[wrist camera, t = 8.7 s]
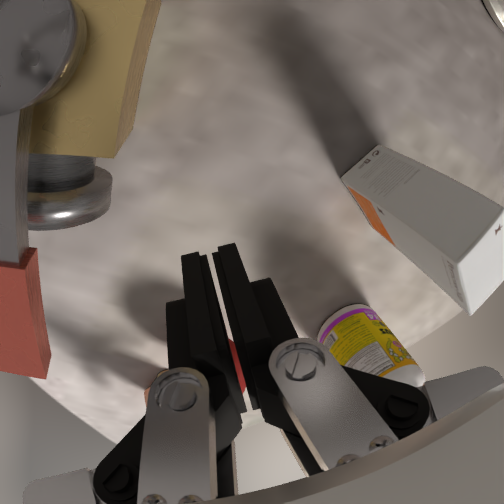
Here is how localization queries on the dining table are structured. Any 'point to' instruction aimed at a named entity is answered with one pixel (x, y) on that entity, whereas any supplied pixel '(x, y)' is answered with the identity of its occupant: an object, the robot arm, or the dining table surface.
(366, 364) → the supplement bottle
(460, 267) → the skincare box
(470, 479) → the robot arm
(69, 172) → the valve
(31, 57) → the lever
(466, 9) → the dining table surface
